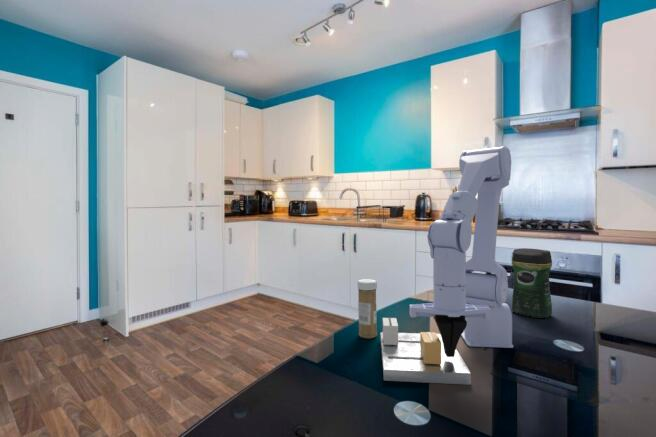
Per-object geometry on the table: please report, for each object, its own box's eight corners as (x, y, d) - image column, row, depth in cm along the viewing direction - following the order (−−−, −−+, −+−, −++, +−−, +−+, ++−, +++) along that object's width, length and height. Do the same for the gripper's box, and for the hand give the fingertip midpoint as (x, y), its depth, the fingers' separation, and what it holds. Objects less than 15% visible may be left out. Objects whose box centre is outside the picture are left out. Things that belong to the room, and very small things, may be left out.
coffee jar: (555, 315, 96) (556, 249, 95) (544, 321, 91) (545, 251, 90) (519, 307, 103) (519, 246, 102) (507, 312, 98) (507, 248, 97)
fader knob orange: (435, 352, 67) (435, 331, 67) (441, 364, 63) (441, 341, 62) (420, 351, 68) (420, 331, 68) (424, 363, 63) (424, 341, 63)
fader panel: (447, 343, 77) (447, 333, 77) (470, 384, 60) (470, 372, 59) (380, 340, 79) (380, 331, 79) (383, 380, 61) (383, 368, 61)
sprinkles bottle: (381, 336, 82) (380, 280, 81) (366, 340, 79) (365, 283, 79) (368, 330, 86) (368, 277, 85) (354, 334, 83) (353, 279, 83)
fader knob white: (396, 335, 76) (396, 317, 76) (398, 344, 71) (398, 325, 71) (382, 335, 77) (382, 317, 76) (383, 344, 72) (383, 324, 71)
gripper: (412, 288, 61) (412, 362, 62) (497, 289, 59) (497, 366, 60) (408, 279, 68) (408, 346, 69) (484, 280, 66) (483, 349, 67)
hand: (449, 354), depth 65 cm, fingers closed
